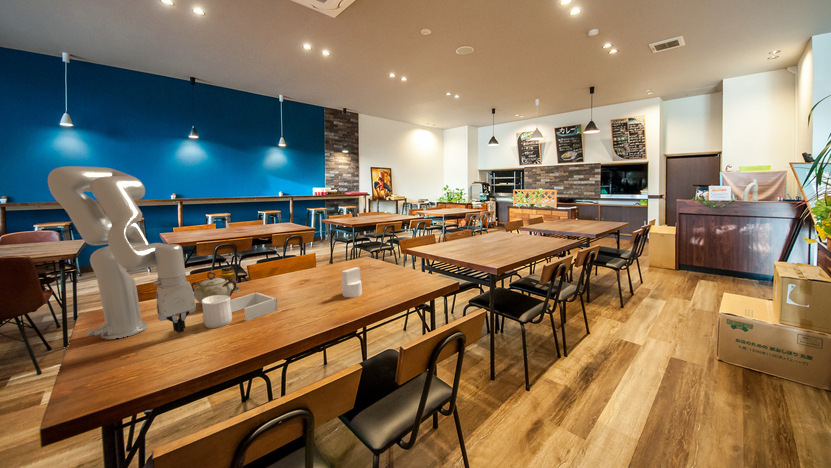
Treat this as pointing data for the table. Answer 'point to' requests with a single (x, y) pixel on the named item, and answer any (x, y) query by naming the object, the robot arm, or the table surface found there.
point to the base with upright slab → (351, 282)
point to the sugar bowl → (212, 287)
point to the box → (254, 305)
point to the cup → (216, 311)
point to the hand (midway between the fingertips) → (179, 331)
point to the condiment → (229, 275)
